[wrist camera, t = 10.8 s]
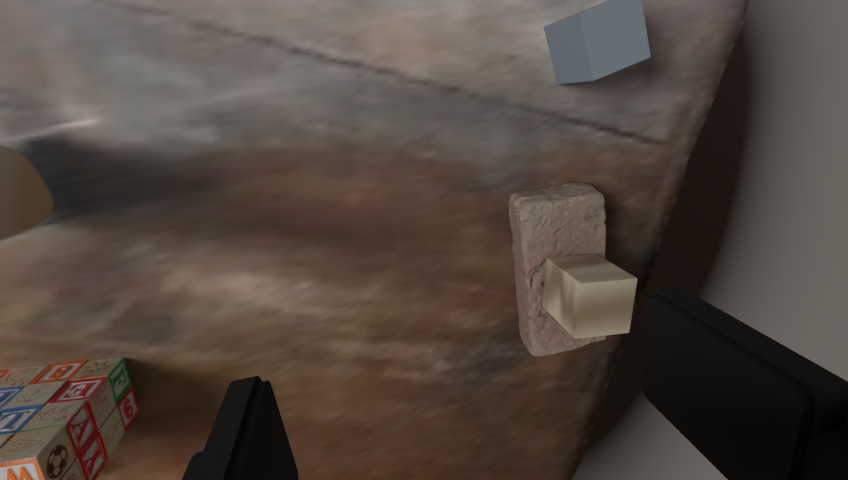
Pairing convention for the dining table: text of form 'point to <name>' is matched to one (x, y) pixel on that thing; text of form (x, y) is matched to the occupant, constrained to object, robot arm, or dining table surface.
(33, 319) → the dining table surface
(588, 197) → the brick
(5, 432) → the stack of blocks
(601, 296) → the beech block
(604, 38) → the slate block
